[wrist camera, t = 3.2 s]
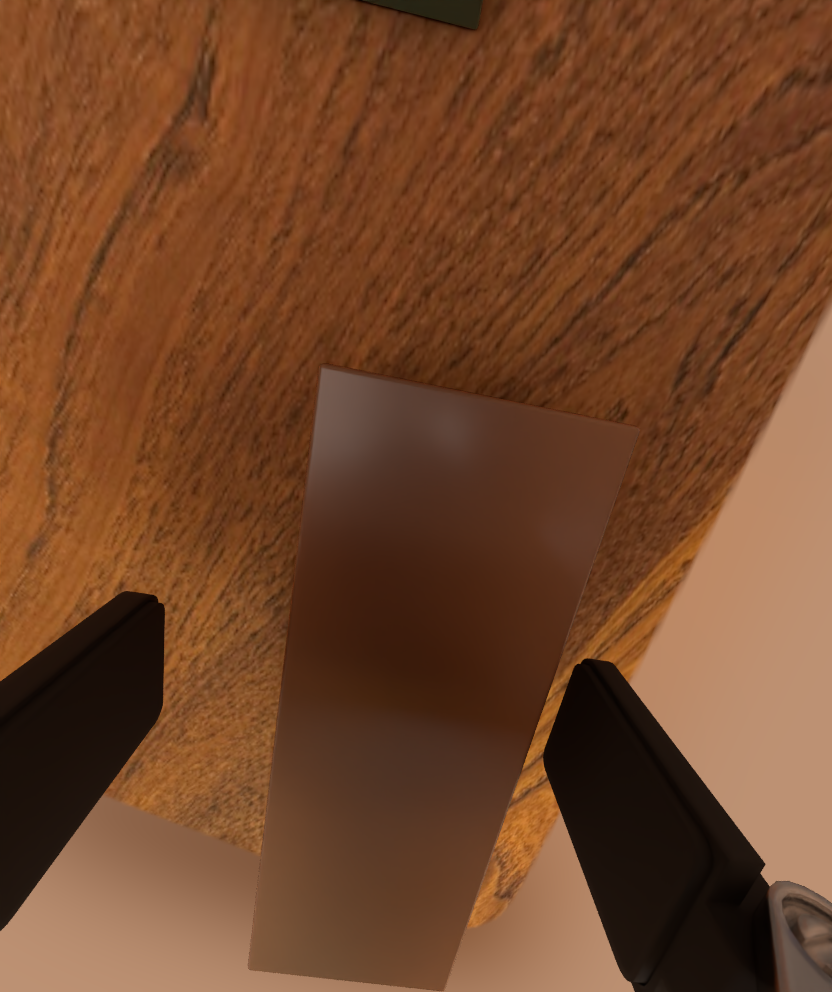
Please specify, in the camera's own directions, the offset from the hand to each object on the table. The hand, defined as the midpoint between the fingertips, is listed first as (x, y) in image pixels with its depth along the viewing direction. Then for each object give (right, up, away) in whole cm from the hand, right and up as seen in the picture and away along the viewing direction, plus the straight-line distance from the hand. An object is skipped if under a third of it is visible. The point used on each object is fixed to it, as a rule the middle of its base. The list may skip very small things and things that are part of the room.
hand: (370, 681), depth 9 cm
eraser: (+1, +1, +3) cm, 4 cm away
